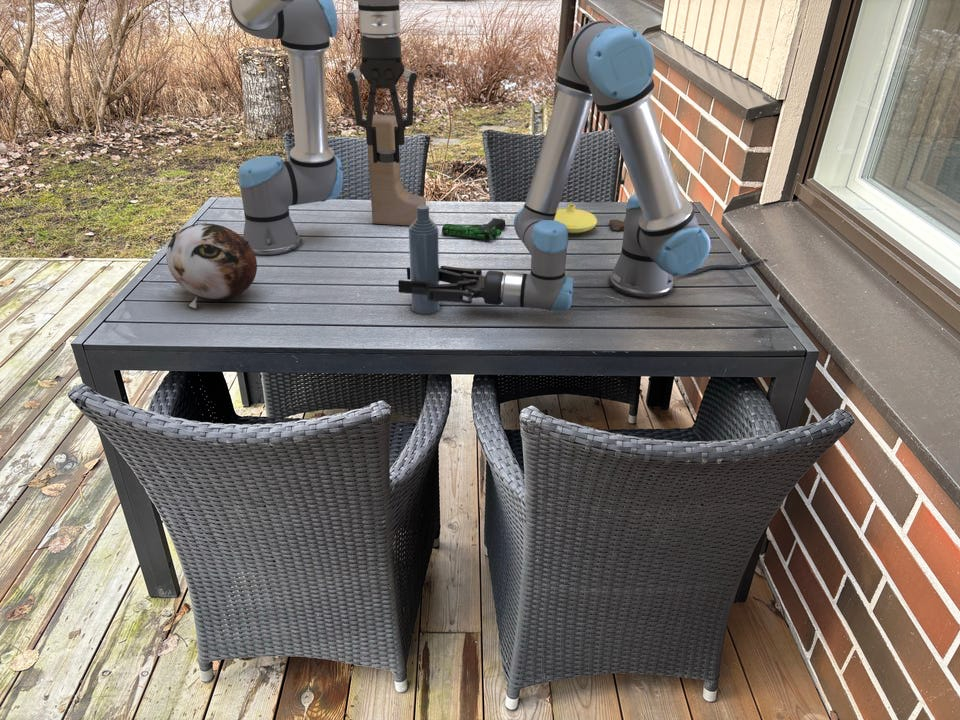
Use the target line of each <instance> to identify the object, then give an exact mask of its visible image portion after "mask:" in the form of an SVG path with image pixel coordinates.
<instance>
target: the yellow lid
mask: <svg viewBox="0 0 960 720" xmlns="http://www.w3.org/2000/svg"><path fill="white" fill-rule="evenodd" d="M554 221H559V222H560V223H563V224H565V225H566V226H567V228H568V234H580V233H584V232H585V233H586V232H587V231H591V230H592V229H594V228H596V226H597V223H598V219H597V217H596V215H595V214H593V213H591V212H589V211H587V210H584V209H578V208H576V205H575V204H571V203H570V204H567V208H558V209H557V212H556V215H555V219H554Z"/></svg>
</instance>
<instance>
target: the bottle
mask: <svg viewBox="0 0 960 720" xmlns="http://www.w3.org/2000/svg"><path fill="white" fill-rule="evenodd" d="M416 210H417V218H416V219H415V220H414V222H413V223H412V225H410V226H409V227H408V246H409V247H408V249H409V251H408V252H409V268H410V277H411V280H410V281H416V282H429V285H434V284H440V281H439V269H440V250H439V249H440V248H439V247H440V246H439V243H440V242H439V228H438V225H437V224H436V223H435V221H433V219H431V217H430V207H429V205H427V204H426V205H420V206H417V209H416ZM410 298H411V299H410V300H411V303H410V304H411V310H412V311H413V312H414V313H416V314H421V315H429V314H434V313H436V312H438V311H439V310H440V307H441V306H440V302H441V301H429V300H428V298H427V295H421V294H411V293H410Z"/></svg>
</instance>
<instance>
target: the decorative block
mask: <svg viewBox="0 0 960 720" xmlns="http://www.w3.org/2000/svg"><path fill="white" fill-rule="evenodd" d="M372 127H376V137H377V151H378V150H381V149H392V150H395V134H394V127H398V125H397V121H396V116H395V115H390V114H389V115H387V114H386V115H385V114H373V121H372ZM367 158H368V172H369V190H370V203H371V219H372V220H371V221H372V223H373V224H376V225H377V224H379V225H391V226H392V225H393V226H409V227H410V225H412V223H413V222H414V220H415V219H416V218H417V210H416V209H417V206H420V205H426V206H427V200H426V199H427V198H426V197H424V196H423V195H422V196H421V195H417V194H412V193H410V192H409V191H408V190H406V189H405V186H404V184H403V182H402V180H401V163H396V161H395V162H392V163H381V162H377V163H374V162H373V145H367Z"/></svg>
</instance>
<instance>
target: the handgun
mask: <svg viewBox="0 0 960 720" xmlns="http://www.w3.org/2000/svg"><path fill="white" fill-rule="evenodd" d="M505 228H506V220H505V219H503V218H497V217H492V219H491V220H490V221H489V222H488V223H483V224H482V225H479V224H472V225H459V224H453V223H445V224H443V226H442V227H441V235H446V236H454V237H462V238H469V239H470V238H471V239H474V240H479V241H484V242H491V241H492V240H494V239H495V238H497V237H500V236H502V230H504V229H505Z"/></svg>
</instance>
